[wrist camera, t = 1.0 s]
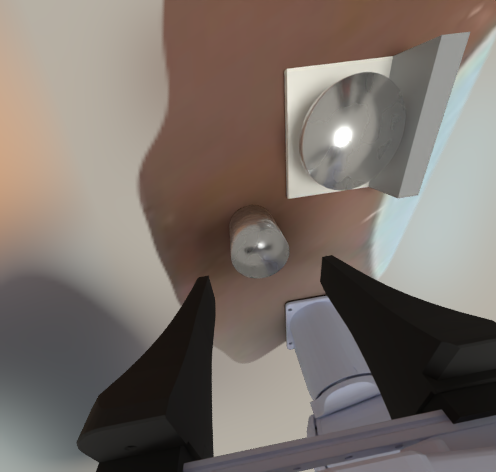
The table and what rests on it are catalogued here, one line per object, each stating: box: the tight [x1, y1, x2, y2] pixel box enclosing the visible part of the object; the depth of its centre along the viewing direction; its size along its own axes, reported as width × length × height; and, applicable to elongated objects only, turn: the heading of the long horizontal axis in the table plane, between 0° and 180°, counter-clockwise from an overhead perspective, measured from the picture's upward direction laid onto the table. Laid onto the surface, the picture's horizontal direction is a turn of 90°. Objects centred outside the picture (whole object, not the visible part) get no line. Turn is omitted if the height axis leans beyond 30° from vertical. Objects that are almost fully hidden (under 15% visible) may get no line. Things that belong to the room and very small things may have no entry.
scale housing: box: [284, 32, 470, 199], centre depth 14 cm, size 9×9×4 cm
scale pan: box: [299, 72, 406, 191], centre depth 13 cm, size 7×7×1 cm
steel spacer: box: [229, 205, 289, 278], centre depth 17 cm, size 4×4×5 cm
